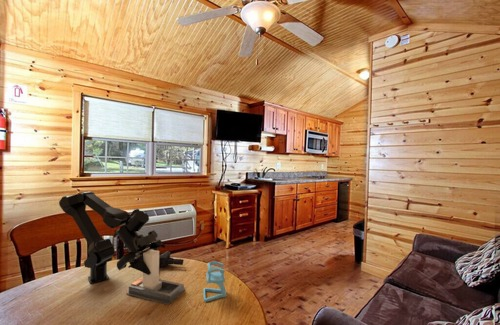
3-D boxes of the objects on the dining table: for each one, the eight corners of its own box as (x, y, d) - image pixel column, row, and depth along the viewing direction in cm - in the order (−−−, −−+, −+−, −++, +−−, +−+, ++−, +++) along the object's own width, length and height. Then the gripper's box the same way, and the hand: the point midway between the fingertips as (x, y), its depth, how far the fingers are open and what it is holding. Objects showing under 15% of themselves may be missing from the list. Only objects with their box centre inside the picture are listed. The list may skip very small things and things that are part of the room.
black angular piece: (191, 250, 121) (163, 248, 123) (175, 262, 102) (142, 259, 103) (190, 260, 121) (162, 258, 122) (174, 275, 101) (141, 272, 103)
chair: (227, 300, 86) (228, 267, 86) (203, 302, 85) (205, 268, 84) (224, 288, 94) (225, 258, 94) (203, 290, 92) (204, 259, 92)
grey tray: (126, 294, 88) (126, 286, 88) (146, 281, 97) (146, 274, 97) (168, 304, 82) (168, 296, 82) (184, 290, 92) (185, 282, 92)
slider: (138, 291, 89) (139, 253, 89) (149, 284, 94) (149, 248, 94) (152, 294, 87) (153, 256, 87) (161, 286, 92) (162, 250, 92)
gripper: (123, 232, 83) (149, 269, 79) (159, 219, 100) (181, 249, 97) (105, 252, 85) (129, 288, 82) (143, 236, 103) (164, 266, 100)
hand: (154, 271), depth 90 cm, fingers closed on slider, 4 cm apart
